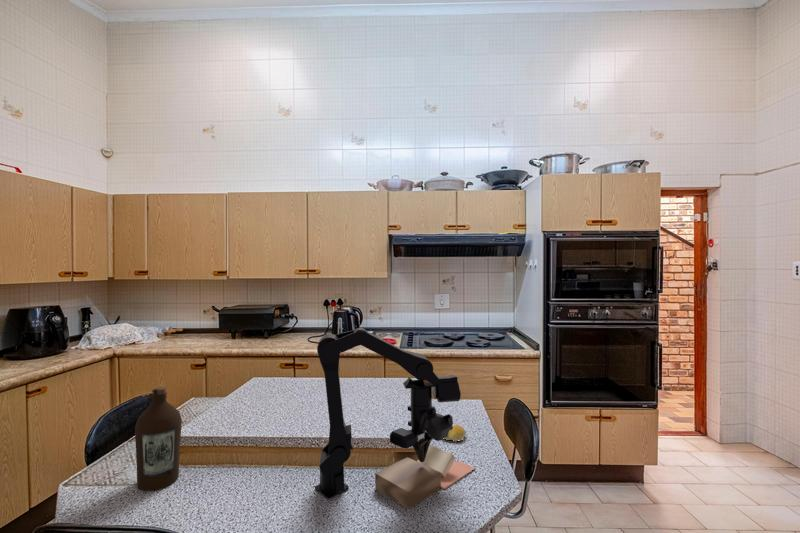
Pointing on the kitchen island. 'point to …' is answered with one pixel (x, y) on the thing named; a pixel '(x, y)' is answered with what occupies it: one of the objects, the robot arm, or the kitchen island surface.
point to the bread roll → (456, 433)
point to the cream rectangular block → (438, 460)
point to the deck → (408, 482)
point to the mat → (455, 474)
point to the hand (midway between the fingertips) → (421, 461)
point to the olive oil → (158, 443)
